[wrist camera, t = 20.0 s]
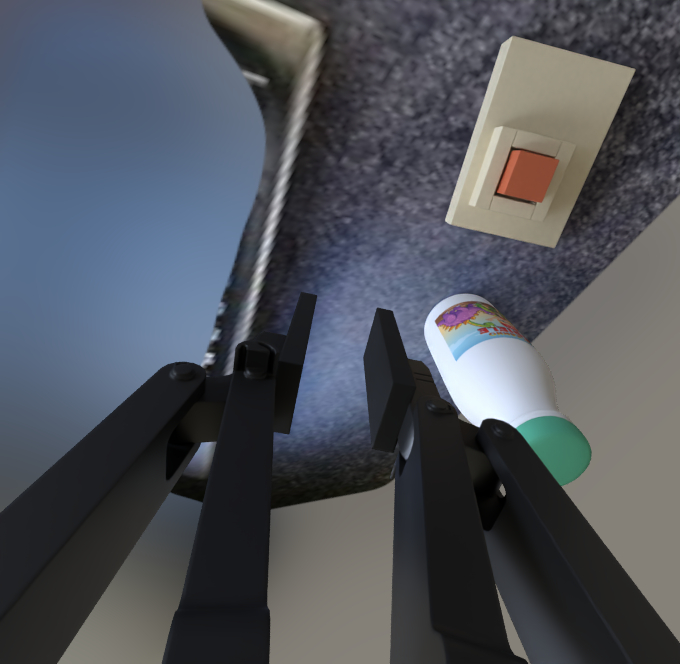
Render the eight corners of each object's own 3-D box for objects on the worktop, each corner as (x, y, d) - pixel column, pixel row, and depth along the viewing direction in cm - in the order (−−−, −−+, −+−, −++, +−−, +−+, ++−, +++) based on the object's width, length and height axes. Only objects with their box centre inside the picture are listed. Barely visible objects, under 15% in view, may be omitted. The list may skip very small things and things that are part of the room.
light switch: (501, 43, 30) (523, 27, 26) (617, 74, 31) (653, 63, 27) (444, 221, 36) (456, 228, 32) (543, 243, 36) (565, 252, 33)
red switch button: (511, 150, 30) (520, 150, 28) (548, 159, 30) (560, 159, 29) (495, 192, 31) (504, 194, 30) (532, 200, 31) (541, 203, 30)
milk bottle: (482, 362, 42) (588, 517, 24) (415, 352, 42) (470, 502, 23) (506, 297, 39) (648, 419, 21) (433, 285, 38) (513, 400, 20)
